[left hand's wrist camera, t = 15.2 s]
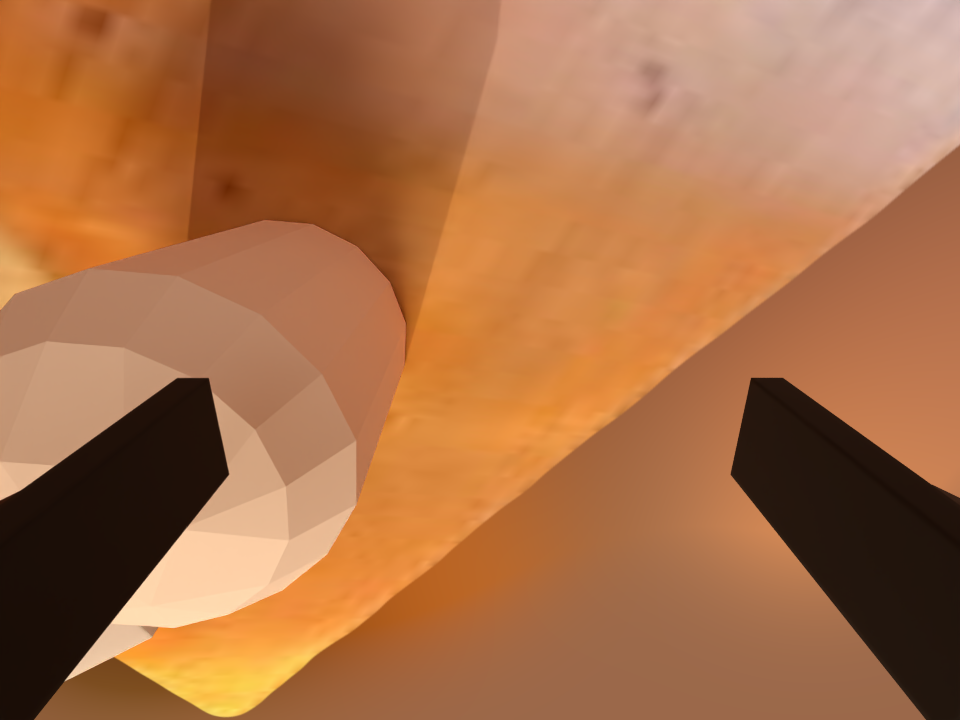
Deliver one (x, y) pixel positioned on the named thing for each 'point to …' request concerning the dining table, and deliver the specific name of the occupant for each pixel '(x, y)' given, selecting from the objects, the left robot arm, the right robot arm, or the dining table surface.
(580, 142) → the dining table surface
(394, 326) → the container
